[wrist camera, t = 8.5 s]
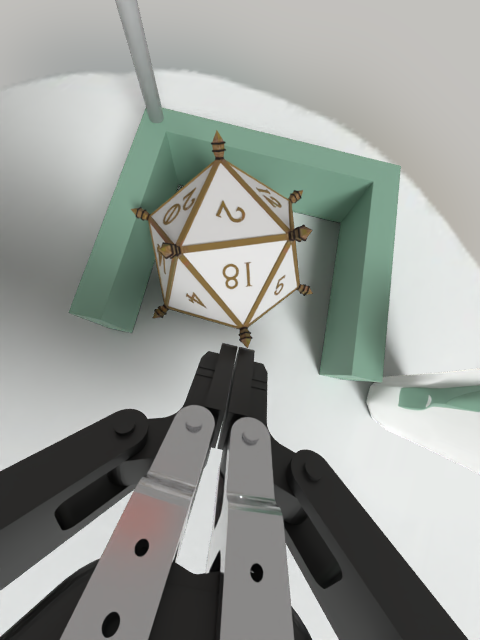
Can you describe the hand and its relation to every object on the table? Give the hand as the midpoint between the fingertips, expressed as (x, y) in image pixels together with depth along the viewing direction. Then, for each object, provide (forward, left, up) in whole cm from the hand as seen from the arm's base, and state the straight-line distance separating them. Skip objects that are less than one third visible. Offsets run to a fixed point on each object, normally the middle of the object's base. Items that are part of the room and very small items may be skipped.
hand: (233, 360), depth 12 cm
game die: (-1, +5, -4) cm, 7 cm away
